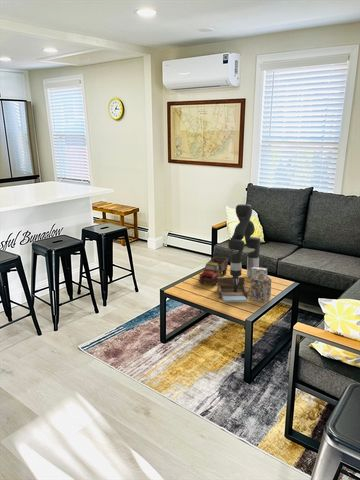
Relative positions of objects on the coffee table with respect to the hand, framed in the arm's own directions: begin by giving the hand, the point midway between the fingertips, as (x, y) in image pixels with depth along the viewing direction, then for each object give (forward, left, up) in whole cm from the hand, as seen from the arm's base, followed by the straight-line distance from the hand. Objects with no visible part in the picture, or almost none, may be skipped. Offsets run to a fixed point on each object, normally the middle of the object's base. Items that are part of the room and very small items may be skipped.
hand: (235, 291), depth 255 cm
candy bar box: (-25, +21, -9) cm, 33 cm away
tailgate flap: (-7, 0, -6) cm, 10 cm away
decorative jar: (-8, +19, -9) cm, 22 cm away
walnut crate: (-16, 0, -8) cm, 18 cm away
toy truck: (-46, -10, -9) cm, 48 cm away
